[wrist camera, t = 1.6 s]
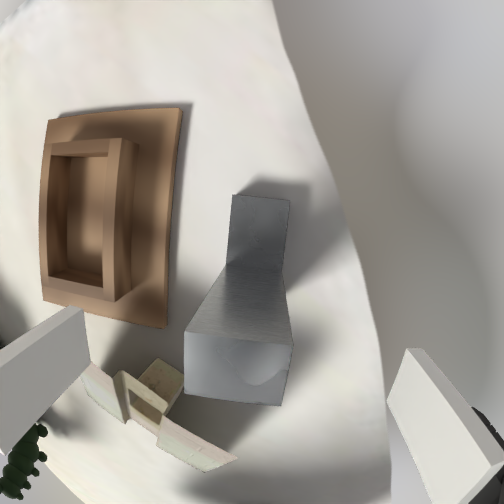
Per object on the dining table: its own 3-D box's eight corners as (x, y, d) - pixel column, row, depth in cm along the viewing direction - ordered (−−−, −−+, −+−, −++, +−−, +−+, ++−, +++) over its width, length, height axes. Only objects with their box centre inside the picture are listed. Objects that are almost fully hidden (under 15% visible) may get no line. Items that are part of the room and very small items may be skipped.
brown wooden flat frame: (167, 324, 24) (151, 345, 21) (48, 297, 25) (25, 309, 21) (182, 111, 21) (166, 96, 17) (54, 121, 22) (28, 114, 18)
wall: (242, 417, 31) (282, 404, 19) (206, 475, 25) (224, 503, 14) (127, 344, 33) (100, 286, 21) (88, 396, 27) (34, 366, 16)
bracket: (275, 300, 24) (280, 406, 11) (226, 294, 24) (184, 393, 11) (288, 200, 22) (314, 204, 9) (235, 194, 22) (191, 191, 9)
